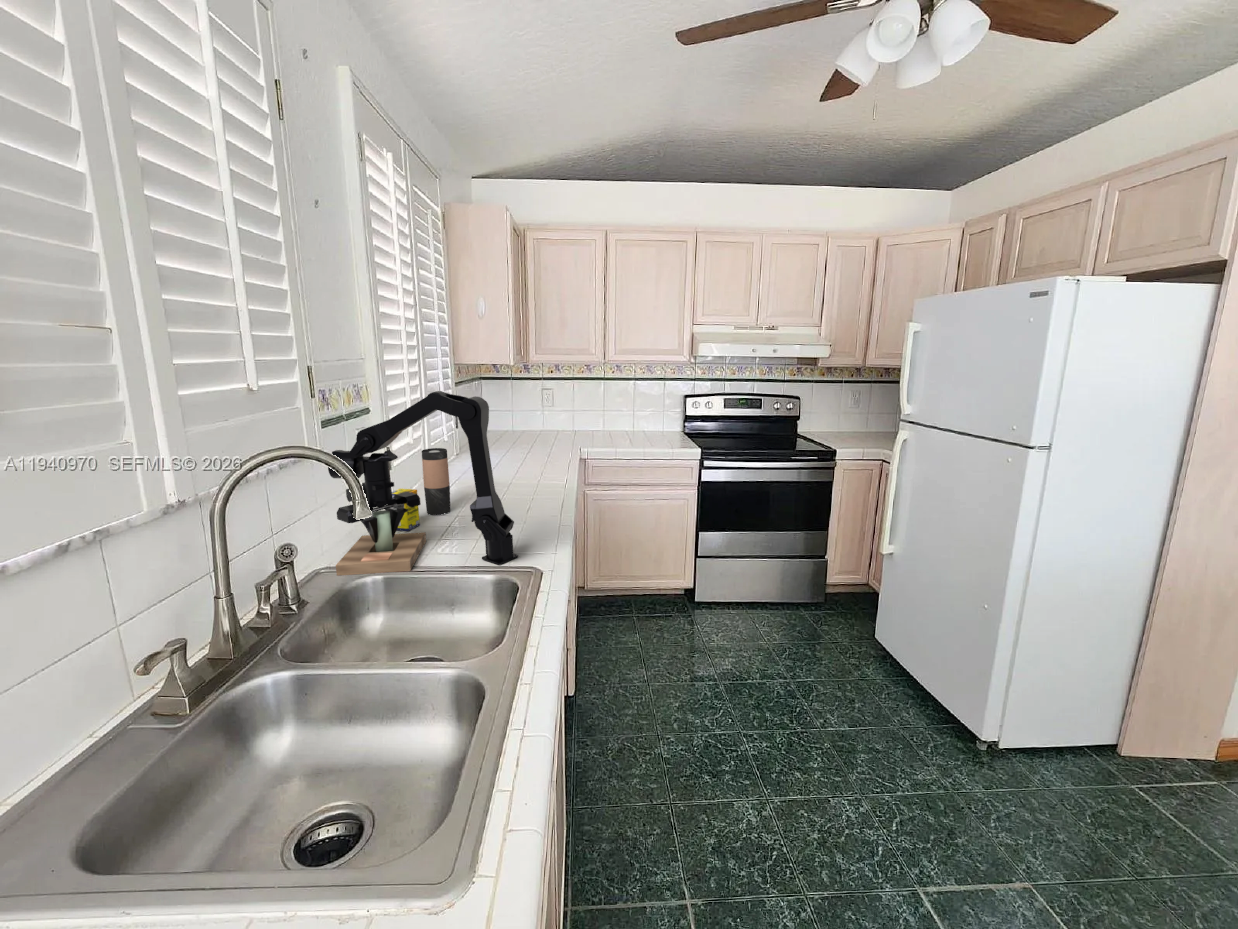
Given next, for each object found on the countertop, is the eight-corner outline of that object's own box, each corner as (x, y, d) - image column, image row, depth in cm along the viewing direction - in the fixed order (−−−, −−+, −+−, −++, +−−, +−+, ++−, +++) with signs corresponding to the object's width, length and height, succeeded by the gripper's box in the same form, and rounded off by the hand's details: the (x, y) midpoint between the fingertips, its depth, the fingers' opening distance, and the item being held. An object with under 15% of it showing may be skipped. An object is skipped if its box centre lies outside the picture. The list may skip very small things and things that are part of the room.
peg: (396, 550, 132) (393, 512, 130) (381, 555, 129) (377, 516, 127) (387, 547, 134) (383, 509, 132) (372, 552, 131) (368, 513, 129)
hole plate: (363, 544, 140) (362, 534, 140) (426, 541, 143) (425, 531, 142) (336, 575, 121) (335, 564, 121) (410, 571, 124) (409, 560, 123)
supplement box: (408, 531, 150) (405, 494, 148) (389, 530, 152) (386, 493, 149) (420, 525, 156) (417, 489, 154) (402, 523, 157) (399, 488, 155)
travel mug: (456, 509, 171) (452, 448, 167) (442, 516, 164) (437, 453, 160) (435, 507, 173) (431, 447, 169) (420, 514, 166) (415, 451, 162)
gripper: (394, 467, 140) (399, 523, 143) (321, 481, 125) (329, 544, 128) (419, 473, 133) (424, 531, 137) (345, 488, 119) (353, 554, 122)
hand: (383, 539), depth 131 cm, fingers closed on peg, 4 cm apart
